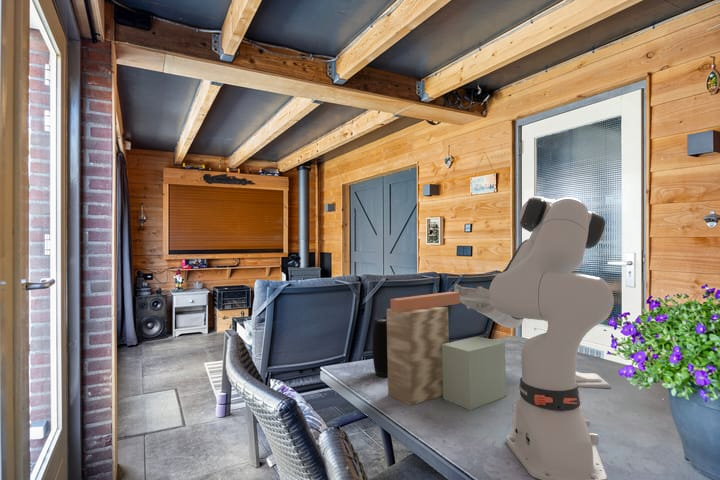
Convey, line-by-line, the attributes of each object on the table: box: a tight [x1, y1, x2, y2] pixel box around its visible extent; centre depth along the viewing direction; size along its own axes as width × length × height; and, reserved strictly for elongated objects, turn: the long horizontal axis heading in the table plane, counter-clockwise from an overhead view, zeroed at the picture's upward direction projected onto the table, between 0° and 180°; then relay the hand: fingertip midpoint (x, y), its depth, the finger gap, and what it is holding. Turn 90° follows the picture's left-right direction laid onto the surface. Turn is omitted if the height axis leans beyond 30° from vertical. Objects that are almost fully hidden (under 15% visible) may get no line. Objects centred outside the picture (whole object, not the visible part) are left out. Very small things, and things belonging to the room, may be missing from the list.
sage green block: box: [442, 335, 507, 411], centre depth 119 cm, size 16×10×16 cm, turn 125°
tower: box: [386, 306, 450, 406], centre depth 123 cm, size 16×10×26 cm, turn 125°
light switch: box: [576, 371, 612, 389], centre depth 131 cm, size 11×4×13 cm
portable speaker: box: [371, 316, 388, 378], centre depth 142 cm, size 9×9×20 cm
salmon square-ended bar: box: [390, 291, 461, 313], centre depth 125 cm, size 26×4×4 cm, turn 125°
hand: (466, 287), depth 136 cm, fingers open, 8 cm apart
